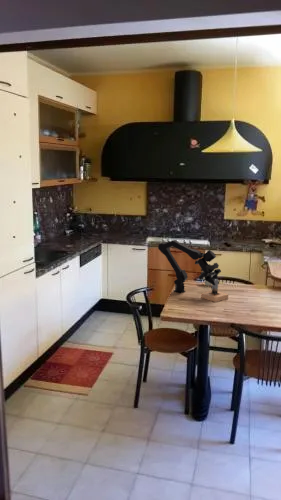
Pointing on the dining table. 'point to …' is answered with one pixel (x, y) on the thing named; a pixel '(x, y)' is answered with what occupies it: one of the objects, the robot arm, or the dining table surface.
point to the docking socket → (214, 296)
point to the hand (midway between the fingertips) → (216, 284)
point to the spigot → (215, 287)
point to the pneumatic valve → (206, 281)
